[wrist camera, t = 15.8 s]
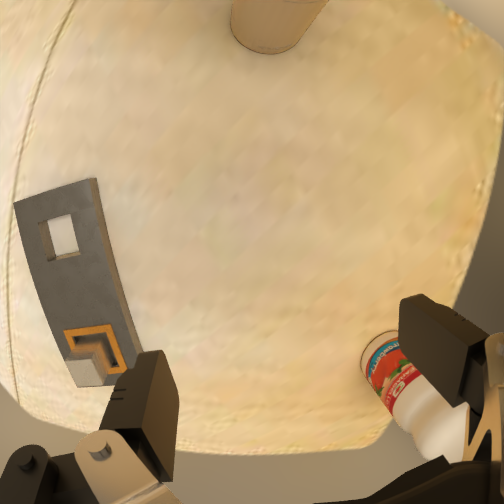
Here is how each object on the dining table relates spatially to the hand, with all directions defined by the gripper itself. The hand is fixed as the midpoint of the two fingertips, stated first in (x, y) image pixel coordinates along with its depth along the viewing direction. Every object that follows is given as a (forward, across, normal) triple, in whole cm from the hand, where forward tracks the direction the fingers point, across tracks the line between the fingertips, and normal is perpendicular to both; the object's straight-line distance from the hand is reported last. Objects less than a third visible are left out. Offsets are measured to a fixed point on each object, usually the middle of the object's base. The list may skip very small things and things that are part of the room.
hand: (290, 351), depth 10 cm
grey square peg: (+30, +22, +14) cm, 40 cm away
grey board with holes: (+30, +22, +6) cm, 38 cm away
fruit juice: (+30, -20, +26) cm, 45 cm away
